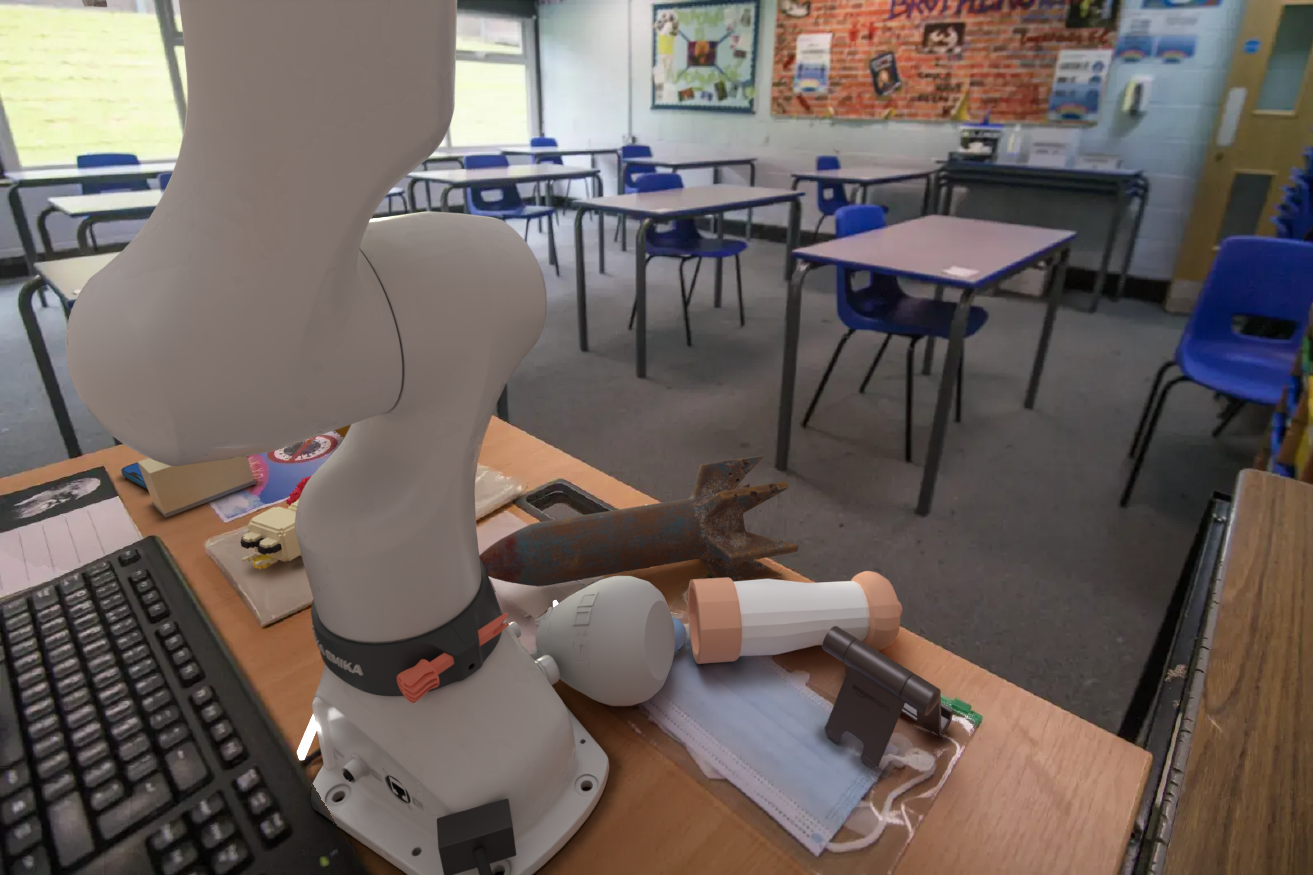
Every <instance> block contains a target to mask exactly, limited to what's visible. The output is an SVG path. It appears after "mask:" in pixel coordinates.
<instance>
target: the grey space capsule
mask: <svg viewBox="0 0 1313 875" xmlns="http://www.w3.org/2000/svg"><path fill="white" fill-rule="evenodd" d="M586 586H587V587H586ZM586 586H584V587H583V588H582V589H579V590H577V591H575V592H573V593H572V594H570V595H569V596H567V597H565V598H564V599H563V600H561V601H560V602H558V604H557V605H556V606H554V607H553V606H549V607H548V608H547V612H544V614H543V615H541V616H539V617H537V618H536V619H534V625H535V627H536V629H537V630H536V634H535V647H534V648H533V649H532V650H531V652H530V653H529V654H530V656H531V657H532V658H533V660H534V661H535V660H536V659H538V658H540V657H542V656H544V655H549V656H551V657H552V658H553V660H554V661H555V662H556V664H557V666H558V669H559V672H560V679H559V681H561V682H563V683H565V684H566V685H568V687H570V688H572V689H573V690H576V691H577V692H579V693H581V694H583V695H584V696H586V697H588V698H590V699H592V700H594V701H595V702H597V703H601V704H603V705H606V706H609V707H610V706H611V707H630V706H634V705H637V704H641V703H644V702H647V701H649V700H650V699H651V698H653V697H654V696H655V695H656V694H657V693H659V691H661V689H662V688H663V687H664V684H665V683H666V680H667V678H668V676H669V673H670V670H671V668H672V665H673V661H674V656H675V651H674V649H675V630H674V623H673V618H672V617H673V614H672V612H671V608H670V607H669V604H668V602H667V600H666V597H665V595H664V594H663V593H662V592H661V590H659V589H658V588H657V587H656V586H655V585H653V584H652V582H650V581H648V580H645V579H641V578H640V577H639V578H638V577H635V576H633V575H613V576H609V577H605V578H603V579H599V580H597V581H595V582H594V583H593V582H592V583H591V584H590V585H589V584H588V585H586Z"/></svg>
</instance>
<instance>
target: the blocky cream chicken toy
mask: <svg viewBox="0 0 1313 875" xmlns="http://www.w3.org/2000/svg"><path fill="white" fill-rule="evenodd" d="M311 476H312V475H309V476H306V477H304V478H301V479H300V481H299V482H298V483H297V484H296V487H294V489H293V490H292V492H291V493H289V497H288V498H286V499H285V501H286V505H287V506H288V507H287V508H285V507H282V506H276V507H275V506H273V507H271V508H268V509H267V510H265V511H263V512H261V513H259V514H257V515H255V516H253V517H251V518H250V520H249V523H248V524H247V529H248V532H247V533H245V534H243V535H242V537H241V539H240V546H241V548H243V549H247V550H249V549H254V552H256V553H255V554H253V555H246V556H243V557H242V558H241V560H242V562H243V563H244V562H245V563H246V562H247V561H249V562H252V566H253V568H255V569H257V570H261V569H267V568H268V567H270V566H272V565H274V564H275V563H278V561H282V562H285V563H286V562H287V561H289V562H291V561H293V560H294V559H296V558H298V557H299V556H300V557H302V555H301V551H300V548H299V544H298V540H297V537H296V533H295V516H296V510H297V506H298V502H299V498H300V495H301V493H302V491H303V489H304V487H305V485H306V483H307V482H308V480H309V479H310V478H311ZM257 553H259V554H257Z"/></svg>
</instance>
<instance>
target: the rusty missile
mask: <svg viewBox="0 0 1313 875" xmlns="http://www.w3.org/2000/svg"><path fill="white" fill-rule="evenodd" d="M763 458H764V455H756V456H750V457H749V456H748V457H743V458H737V459H729V460H723V461H716V462H709V463H704V464H700V465H698V469H697V473H696V477H695V480H694V484H693V487H692V491H691V493H690V496H689V497H688V498H682V499H676V500H670V501H664V502H657V503H651V504H648V505H645V504H644V505H638V506H632V507H625V508H620V509H614V510H613V509H612V510H606V511H600V512H593V513H589V514H582V515H575V516H569V517H563V518H562V517H561V518H558V519H557V518H556V519H550V520H545V521H539V522H535V523H534V522H533V523H530V524H528V525H526V526H524V527H522V528H520V529H518V530H516V531H514V532H512V533H510V534H508V535H506V536H504V537H502V538H500V539H499V540H497V541H496V542H495V543H493V544H491V545H490V546H489V547H487V548H486V549H485V550H484V551H483V552H481V553H479V558H480V560H481V561H482V563H483V565H484V566H485V569H486V571H487V574H488V576H489V578H490V579H494V580H497V581H501V582H505V583H512V584H518V585H522V586H523V585H524V586H530V587H531V586H533V587H547V586H553V585H559V584H565V583H570V582H574V581H575V582H577V581H581V580H586V579H592V578H598V577H604V576H609V575H614V574H620V573H625V572H632V571H636V570H637V571H638V570H644V569H649V568H654V567H660V566H666V565H672V564H677V563H682V562H688V561H694V560H700V561H701V562H702V564H703V565H704V567H705V568H706V570H707V572H708V573H709V575H710V576H711V578H728V577H729V578H731V579H732V581H733V582H735V581H747V580H759V579H772V578H775V577H781V576H782V575H783V573H780V572H779V571H777V570H775V569H773V568H771V567H770V566H768V565H766V564H763V563H762V562H760V561H758V560H761V559H766V558H771V557H776V556H782V555H788V554H794V553H797V552H798V551H799V545H797V544H794V543H791V542H786V541H784V540H778V539H776V538H775V539H774V538H771V537H768V536H765V535H760V534H756V533H752V532H748V531H747V530H746V525H745V519H744V514H745V513H747V512H748V511H750V510H752V509H754V508H756V507H757V506H759V505H761V504H763V503H765V502H766V501H768V500H770V499H772V498H774V497H775V496H777V495H780V494H781V493H782V492H784V491H786V490H788V489H789V487H790V486H789V484H788V481H779V482H773V483H765V484H760V485H754V486H751V484H750V483H743V484H742V483H741V482H742V481H743V480H744V479H745V477H746V475H747V474H748V473H750V472H751V471H752V470H753V469H754V467H756V465H758V463H759V462H761V460H762V459H763ZM740 483H741V484H740ZM576 580H577V581H576Z"/></svg>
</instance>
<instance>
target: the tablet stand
mask: <svg viewBox="0 0 1313 875" xmlns="http://www.w3.org/2000/svg"><path fill="white" fill-rule="evenodd" d="M821 648H822V650H823V651H824V652H826V653H827V654H829V655H830V656H832V657H833V658H835V659H837V660H838V661H840V662H841V663H843V669H844V673H845V677H844V679H843V681H842V684H841V686H840V689H839V692H838V695H837V697H836V699H835V702H834V704H833V707H832V709H831V712H830V714H829V717H828V719H827V722H826V724H825V726H824V733H825V734H826V736H828V738H830V739H832V740H833V741H835V742H836V743H839V742H840V741H841V739H842V737H843V736H844V735H845V733H846V732H847V733H849V734H850V735H852V736H853V737H854V738H856V739H857V740H858V741H860V742H861V743H862V750H861V754H860V759H859V760H860V761H862V762H863V763H865V765H867V766H869V767H870V768H871V769H877V768H878V767H879V766H880V764H881V761H882V759H883V757H884V754H885V751H886V750H887V747H888V745H889V742H890V740H891V737H892V735H893V733H894V731H895V729H896V726H897V724H898V721H899V719H900V716H901V714H904V715H905V716H907V717H909V718H910V719H911V720H913V721H915V722H916V723H917V724H919V725H921V726H922V728H923V729H925V730H927V731H928V732H929V733H933V734H934V735H936V736H937V737H939V738H941V737H943V736H944V735H945V734H946V732H947V731H948V729H949V727H950V725H951V723H952V720H953V717H954V716H953V715H954V712H955V710H954V709H953V708H951V707H949V706H947V704H944V703H943V702H942V697H941V696H942V690H941V688H939V687H937V686H936V685H934V684H932V683H931V682H929V681H928V680H926V679H924V678H922V677H921V676H919V675H918V674H916V673H914V672H913V671H911V670H909V669H908V668H906V667H904V666H903V665H901V664H899V663H898V662H896V661H895V660H893V659H891V658H890V657H888V656H887V655H885V654H884V653H881V652H880V650H879V651H877V650H875V649H874V648H872V647H870V646H869V645H867V644H865V643H864V642H862V641H861V640H859V639H857V638H856V637H854V636H852V635H851V634H849V633H847V632H846V631H844V630H843V629H841V628H839V627H838V626H834V627H832V628H831V629H830V630H829V631H828V633H827V634H826V636H825V638H824V640H823V644H822V645H821Z"/></svg>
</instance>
